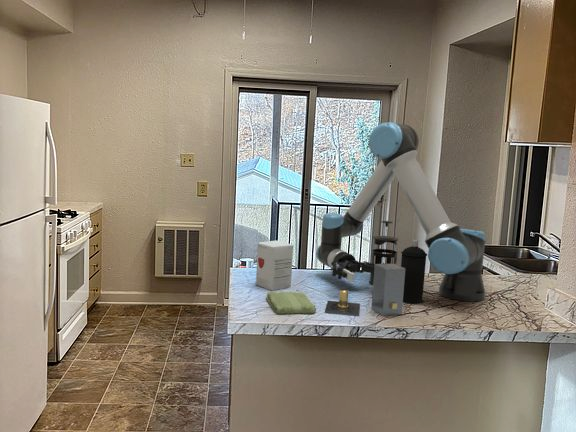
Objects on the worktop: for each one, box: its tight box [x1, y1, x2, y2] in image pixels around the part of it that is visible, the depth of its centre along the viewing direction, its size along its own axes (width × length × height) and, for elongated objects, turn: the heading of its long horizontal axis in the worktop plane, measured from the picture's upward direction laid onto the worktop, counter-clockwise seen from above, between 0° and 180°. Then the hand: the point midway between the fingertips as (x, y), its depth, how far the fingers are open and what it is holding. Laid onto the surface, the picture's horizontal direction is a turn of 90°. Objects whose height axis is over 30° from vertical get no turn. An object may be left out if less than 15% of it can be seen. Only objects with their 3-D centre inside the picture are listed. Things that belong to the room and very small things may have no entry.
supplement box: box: [255, 240, 294, 292], centre depth 185 cm, size 9×9×15 cm
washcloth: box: [265, 291, 317, 315], centre depth 164 cm, size 13×18×3 cm
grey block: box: [370, 262, 405, 317], centre depth 162 cm, size 9×7×14 cm
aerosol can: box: [400, 239, 428, 305], centre depth 175 cm, size 8×8×20 cm
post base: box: [324, 289, 361, 317], centre depth 163 cm, size 10×10×6 cm
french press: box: [368, 220, 399, 286], centre depth 195 cm, size 12×9×23 cm
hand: (372, 277), depth 171 cm, fingers open, 13 cm apart
